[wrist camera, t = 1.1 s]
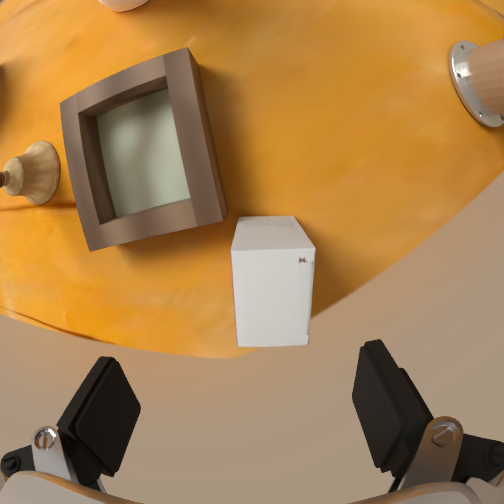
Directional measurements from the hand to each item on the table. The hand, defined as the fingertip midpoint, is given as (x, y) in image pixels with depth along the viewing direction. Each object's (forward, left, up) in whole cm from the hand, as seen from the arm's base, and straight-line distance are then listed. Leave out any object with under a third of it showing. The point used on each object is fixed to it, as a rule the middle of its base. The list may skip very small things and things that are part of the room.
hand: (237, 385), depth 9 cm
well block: (+8, -11, -20) cm, 24 cm away
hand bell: (+24, -14, -20) cm, 35 cm away
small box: (-2, +2, -20) cm, 20 cm away
